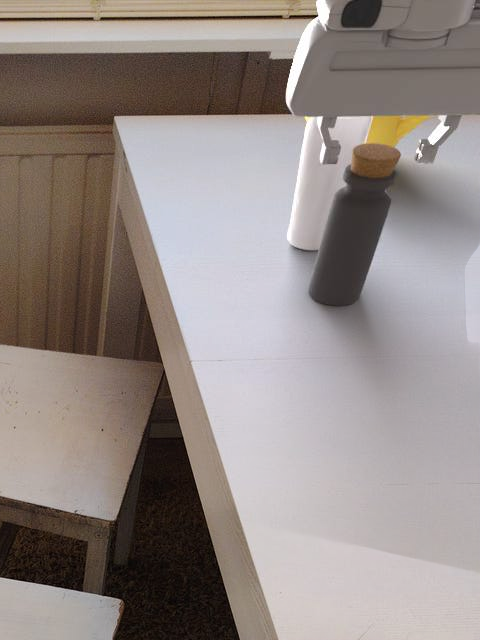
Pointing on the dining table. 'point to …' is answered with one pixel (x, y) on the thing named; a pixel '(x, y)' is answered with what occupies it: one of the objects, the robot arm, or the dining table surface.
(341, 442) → the dining table surface
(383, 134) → the teapot
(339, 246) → the bottle
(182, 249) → the dining table surface
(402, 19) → the robot arm
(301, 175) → the white vase
